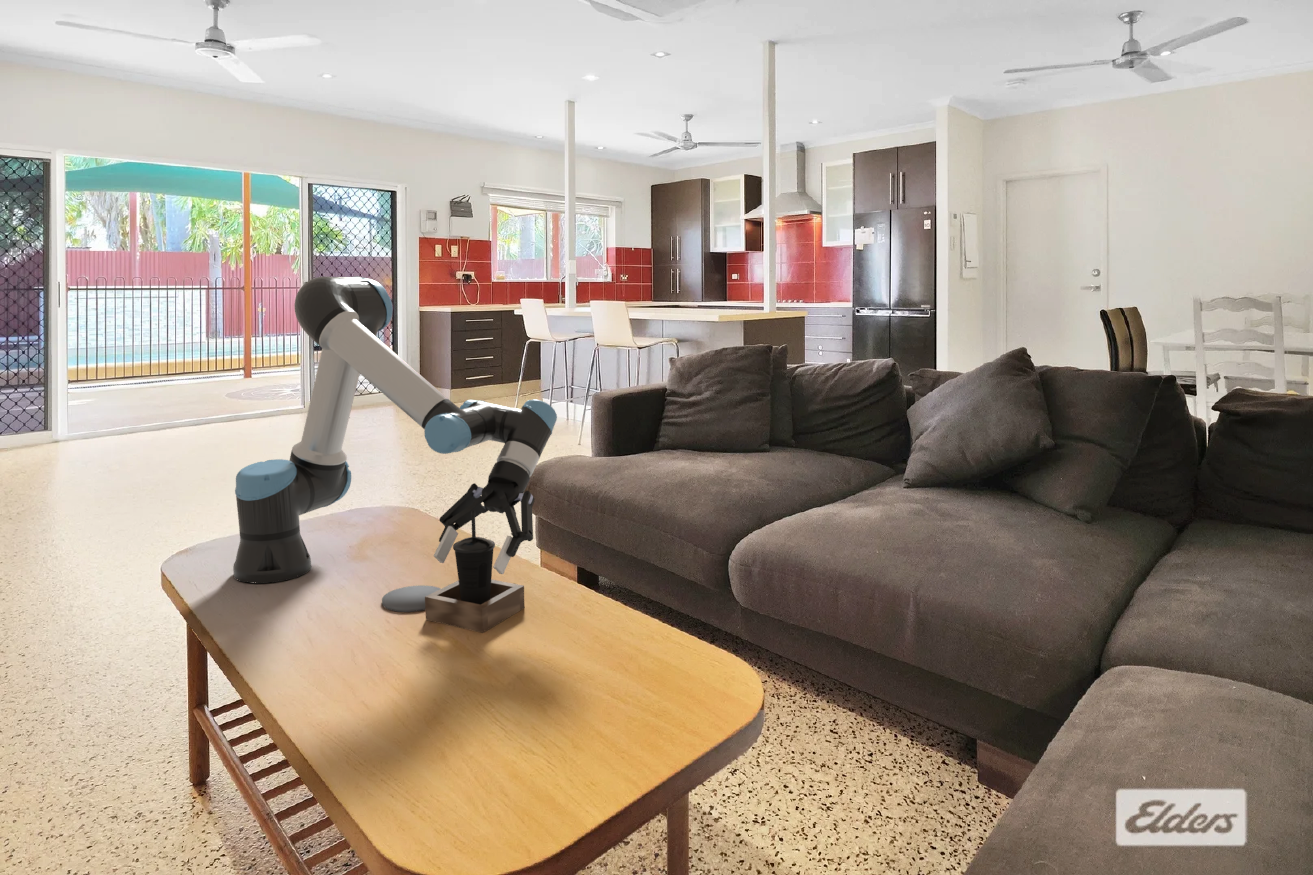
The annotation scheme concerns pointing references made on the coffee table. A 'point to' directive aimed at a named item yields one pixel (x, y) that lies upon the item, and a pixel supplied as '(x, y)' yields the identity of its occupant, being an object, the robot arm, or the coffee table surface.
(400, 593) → the coaster
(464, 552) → the drinking cup
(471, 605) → the wooden square tray
